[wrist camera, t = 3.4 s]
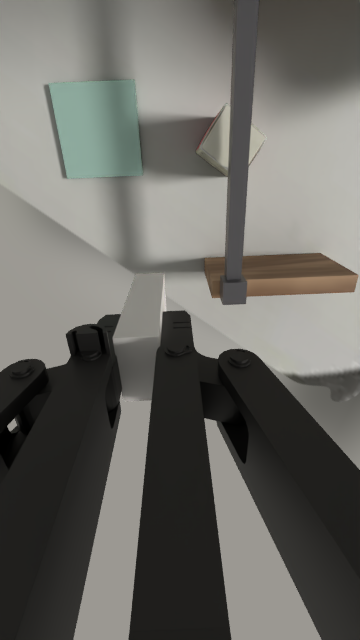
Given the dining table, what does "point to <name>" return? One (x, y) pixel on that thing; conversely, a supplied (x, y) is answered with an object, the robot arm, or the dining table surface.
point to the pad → (98, 128)
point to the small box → (225, 141)
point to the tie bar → (239, 147)
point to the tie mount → (285, 275)
